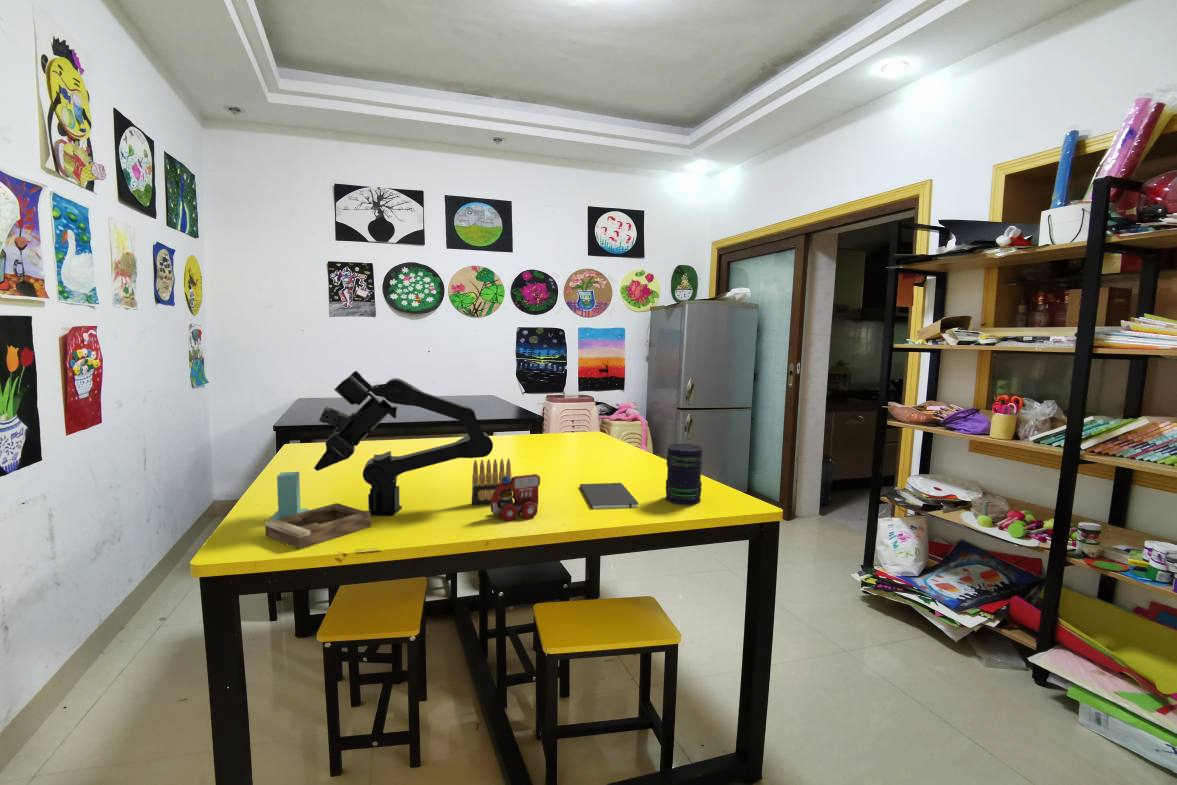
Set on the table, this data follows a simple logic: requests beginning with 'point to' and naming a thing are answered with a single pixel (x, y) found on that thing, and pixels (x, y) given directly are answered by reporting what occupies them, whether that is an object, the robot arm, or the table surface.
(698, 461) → the storage jar
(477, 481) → the ammunition clip
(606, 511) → the table surface
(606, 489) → the notebook
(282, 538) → the keyhole plate
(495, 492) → the toy fire truck
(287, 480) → the peg
